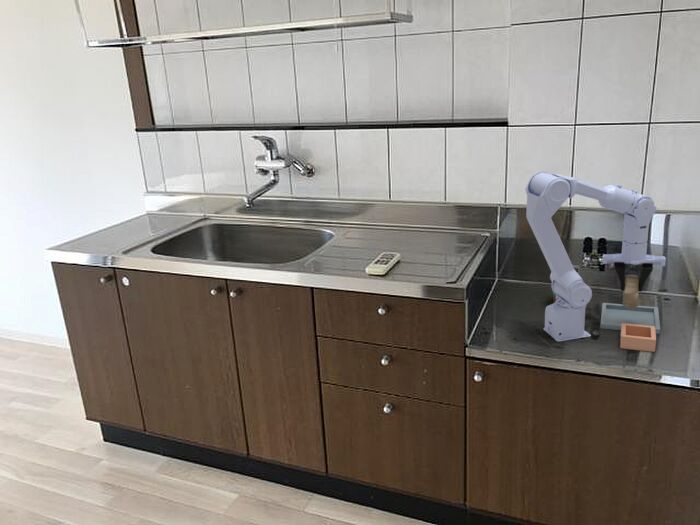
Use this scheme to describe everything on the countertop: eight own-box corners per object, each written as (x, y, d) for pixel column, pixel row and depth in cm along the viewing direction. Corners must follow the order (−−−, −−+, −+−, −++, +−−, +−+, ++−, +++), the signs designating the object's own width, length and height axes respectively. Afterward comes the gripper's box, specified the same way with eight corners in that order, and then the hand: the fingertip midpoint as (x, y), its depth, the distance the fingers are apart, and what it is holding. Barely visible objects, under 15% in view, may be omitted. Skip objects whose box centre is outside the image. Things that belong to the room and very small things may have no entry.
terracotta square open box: (620, 350, 146) (621, 336, 144) (620, 336, 152) (621, 323, 151) (654, 354, 142) (656, 340, 141) (653, 339, 149) (654, 326, 148)
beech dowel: (628, 309, 154) (630, 280, 152) (619, 304, 157) (621, 276, 155) (640, 306, 155) (642, 278, 152) (630, 301, 158) (633, 273, 156)
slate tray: (600, 330, 156) (600, 323, 156) (602, 308, 168) (602, 302, 167) (659, 336, 150) (660, 329, 150) (657, 313, 162) (657, 307, 162)
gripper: (604, 244, 149) (601, 294, 154) (669, 246, 144) (663, 297, 149) (603, 236, 156) (600, 283, 160) (665, 237, 151) (660, 286, 155)
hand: (630, 289), depth 155 cm, fingers closed on beech dowel, 4 cm apart
